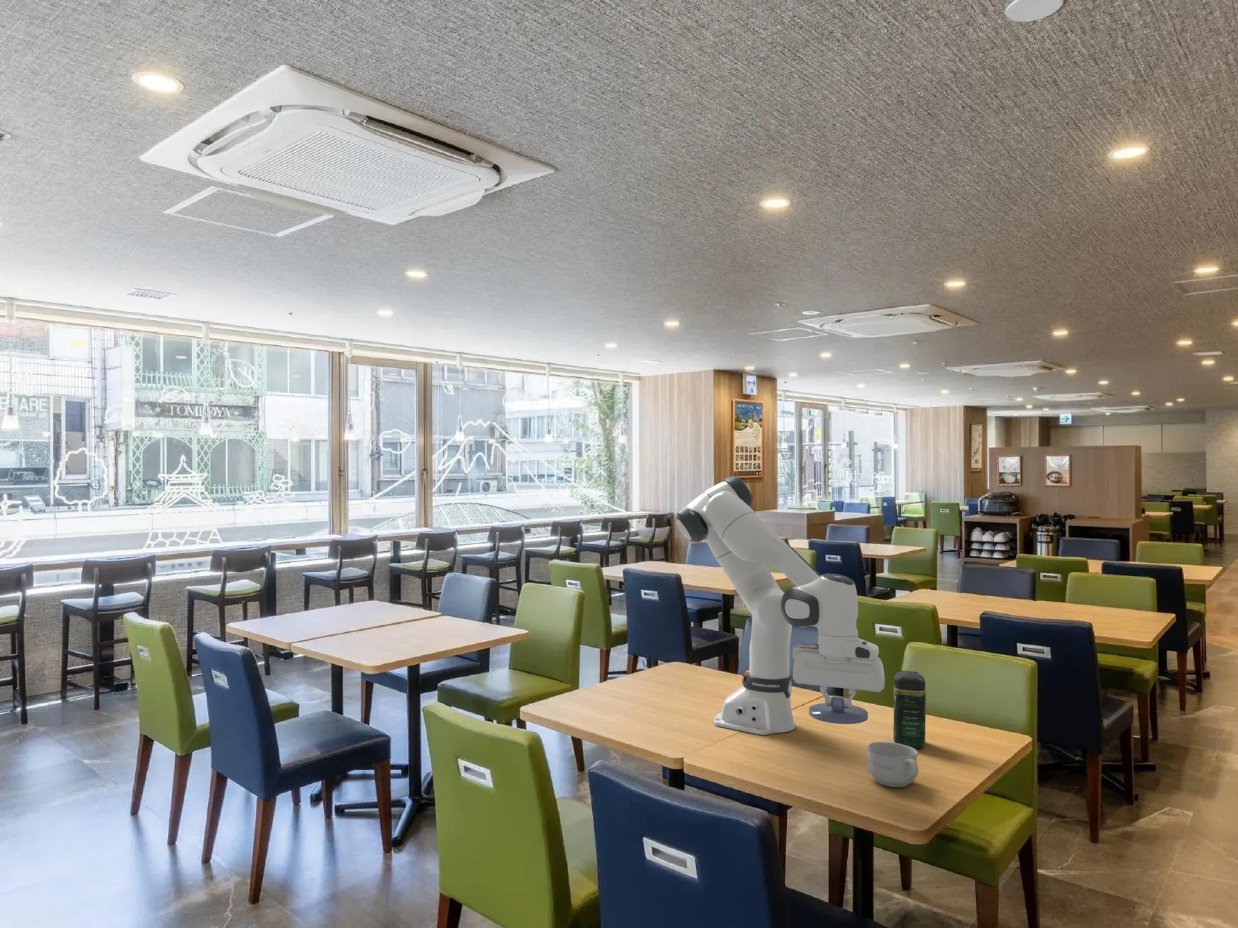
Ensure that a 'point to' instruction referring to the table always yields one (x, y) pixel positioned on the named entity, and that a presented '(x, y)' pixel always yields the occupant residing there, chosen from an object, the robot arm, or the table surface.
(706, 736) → the table surface
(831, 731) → the table surface
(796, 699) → the table surface
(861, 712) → the lid
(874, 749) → the teacup
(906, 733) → the coffee jar
